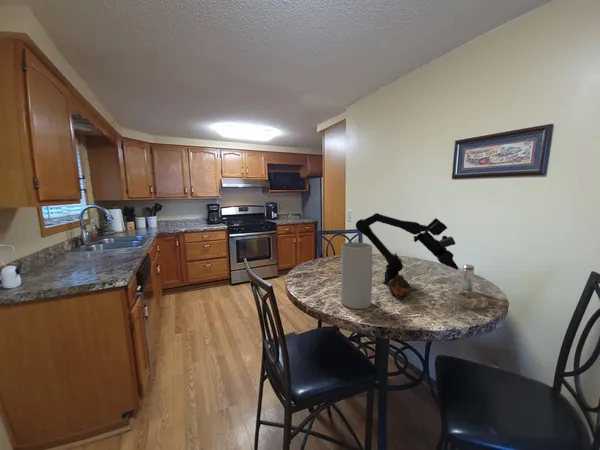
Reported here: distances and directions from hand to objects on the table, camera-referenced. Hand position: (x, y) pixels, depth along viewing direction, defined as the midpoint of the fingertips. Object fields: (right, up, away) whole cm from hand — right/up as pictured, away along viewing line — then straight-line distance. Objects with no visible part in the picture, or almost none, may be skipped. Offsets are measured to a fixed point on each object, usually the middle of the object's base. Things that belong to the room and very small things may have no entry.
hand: (455, 266), depth 114 cm
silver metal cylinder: (+5, -12, -1) cm, 13 cm away
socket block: (-3, -13, -13) cm, 19 cm away
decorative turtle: (-28, -13, -3) cm, 31 cm away
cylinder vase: (-50, -14, -12) cm, 53 cm away
